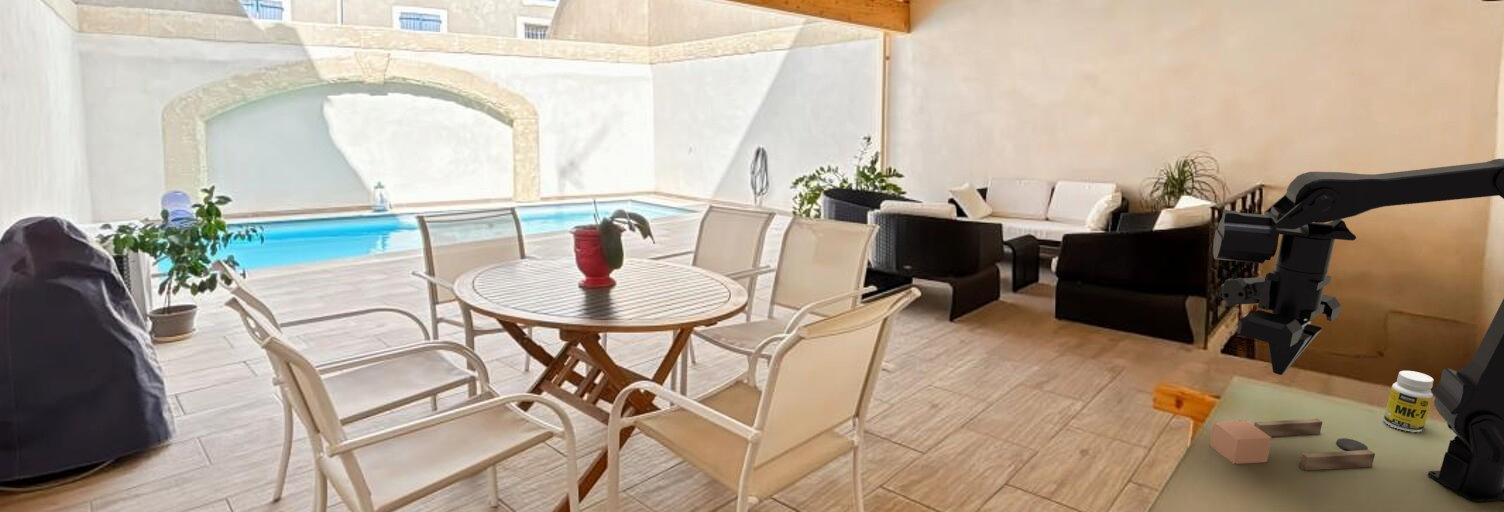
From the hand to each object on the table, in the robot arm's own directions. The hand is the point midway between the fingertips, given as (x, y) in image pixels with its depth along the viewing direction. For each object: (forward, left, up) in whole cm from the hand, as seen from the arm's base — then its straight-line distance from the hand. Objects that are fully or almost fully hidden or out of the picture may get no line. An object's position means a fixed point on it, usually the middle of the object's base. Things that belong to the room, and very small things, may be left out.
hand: (1278, 373), depth 105 cm
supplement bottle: (-27, -5, -13) cm, 30 cm away
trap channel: (-9, 0, -12) cm, 15 cm away
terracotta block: (+4, 0, -13) cm, 13 cm away
